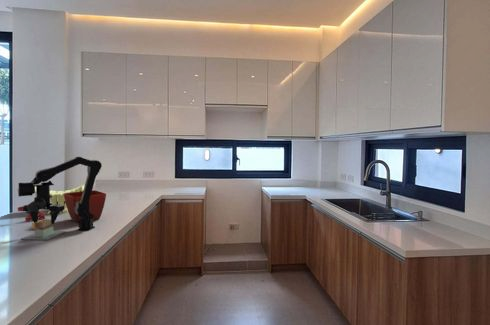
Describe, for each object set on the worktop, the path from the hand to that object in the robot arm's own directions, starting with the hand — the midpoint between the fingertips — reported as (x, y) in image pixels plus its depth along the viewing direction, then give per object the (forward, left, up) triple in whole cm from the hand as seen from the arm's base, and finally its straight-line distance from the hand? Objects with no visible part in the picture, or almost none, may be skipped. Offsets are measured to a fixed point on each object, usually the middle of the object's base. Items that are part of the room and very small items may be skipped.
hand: (44, 224), depth 154 cm
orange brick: (+14, -15, -6) cm, 21 cm away
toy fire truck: (+30, -28, -6) cm, 42 cm away
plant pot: (-1, -34, -6) cm, 35 cm away
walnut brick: (0, 0, -2) cm, 2 cm away
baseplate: (0, 0, -6) cm, 6 cm away
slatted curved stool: (+32, -56, -6) cm, 65 cm away
